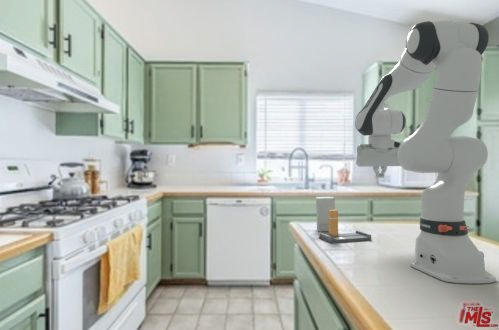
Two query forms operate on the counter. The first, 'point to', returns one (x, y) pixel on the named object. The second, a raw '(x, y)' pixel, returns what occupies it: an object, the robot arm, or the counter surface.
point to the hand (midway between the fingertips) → (380, 177)
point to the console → (346, 237)
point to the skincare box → (323, 212)
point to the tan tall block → (333, 223)
